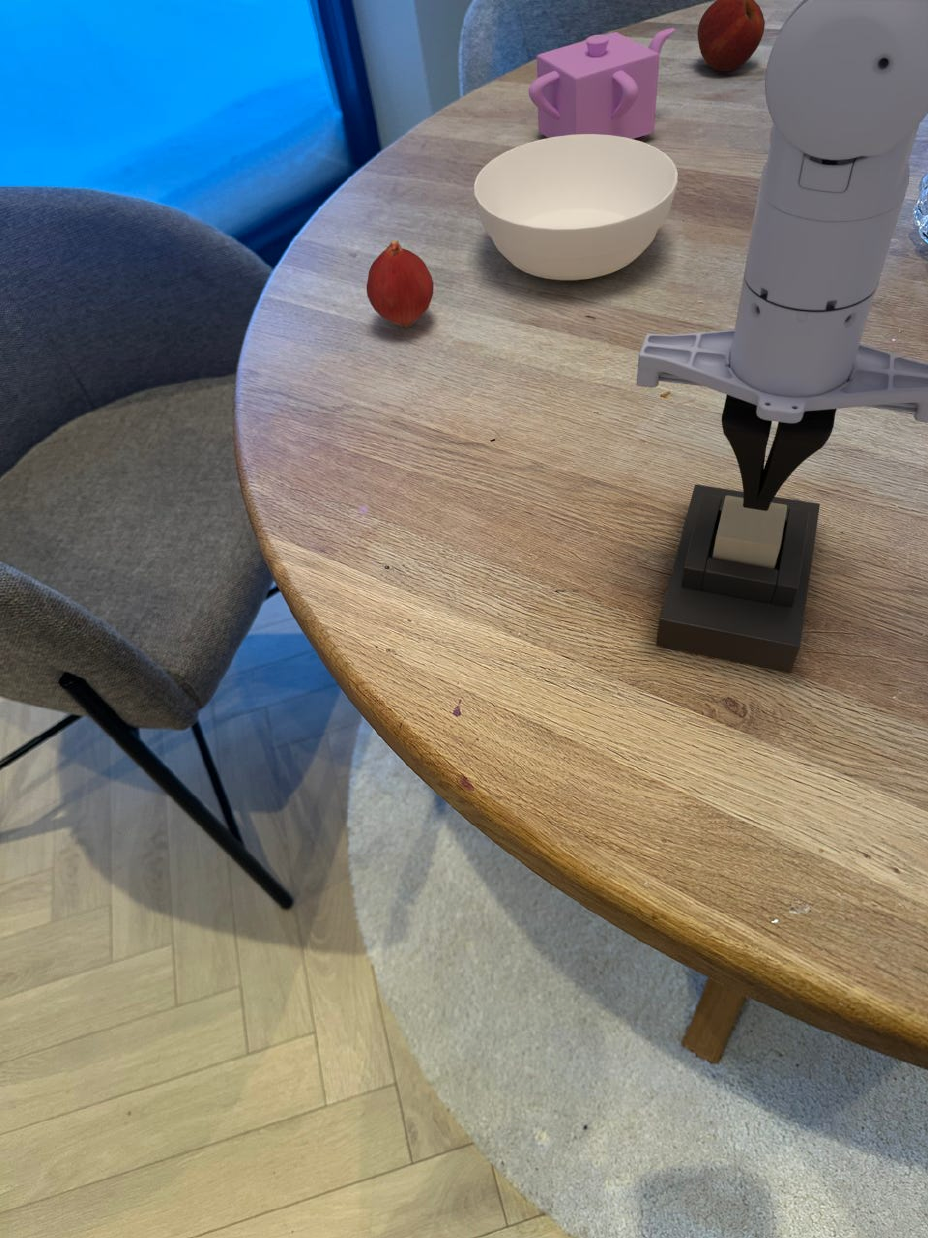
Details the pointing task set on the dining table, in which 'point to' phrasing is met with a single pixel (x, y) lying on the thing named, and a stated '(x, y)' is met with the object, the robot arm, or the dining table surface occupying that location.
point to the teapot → (598, 87)
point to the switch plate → (738, 589)
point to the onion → (399, 285)
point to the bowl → (575, 203)
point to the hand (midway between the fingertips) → (757, 497)
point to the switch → (749, 533)
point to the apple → (730, 33)
